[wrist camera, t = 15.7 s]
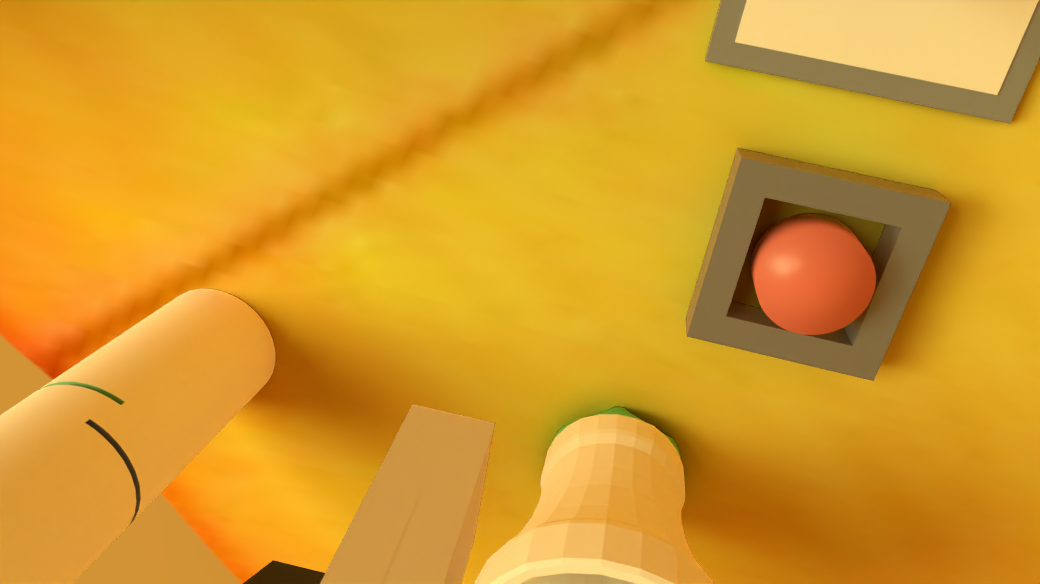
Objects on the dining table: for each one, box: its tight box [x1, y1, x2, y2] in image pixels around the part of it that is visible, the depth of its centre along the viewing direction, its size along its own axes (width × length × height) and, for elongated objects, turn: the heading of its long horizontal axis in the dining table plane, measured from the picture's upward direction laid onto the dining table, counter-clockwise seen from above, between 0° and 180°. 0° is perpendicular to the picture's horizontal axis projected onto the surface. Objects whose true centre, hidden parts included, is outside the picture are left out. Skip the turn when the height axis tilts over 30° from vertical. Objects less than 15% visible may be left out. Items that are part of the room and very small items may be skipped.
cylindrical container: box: [0, 289, 276, 584], centre depth 33 cm, size 7×7×25 cm
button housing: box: [686, 148, 951, 381], centre depth 35 cm, size 9×9×2 cm
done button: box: [751, 213, 876, 335], centre depth 34 cm, size 5×5×2 cm
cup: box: [474, 407, 714, 584], centre depth 36 cm, size 11×11×14 cm
